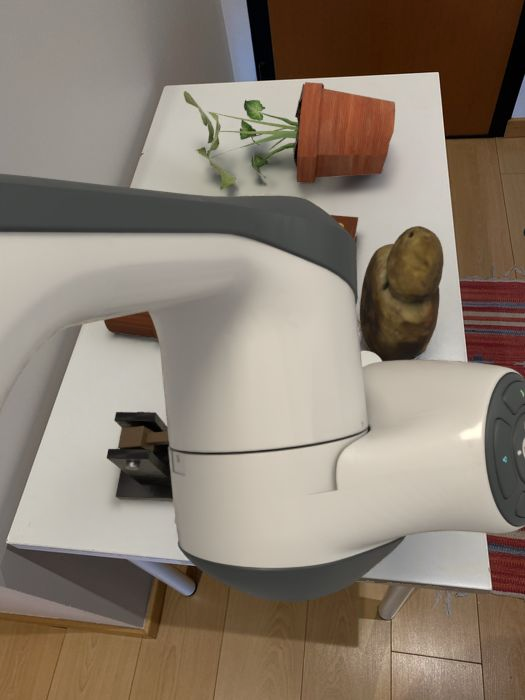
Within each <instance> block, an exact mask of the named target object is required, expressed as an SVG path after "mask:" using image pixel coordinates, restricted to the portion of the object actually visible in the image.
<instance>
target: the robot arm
mask: <svg viewBox="0 0 525 700" xmlns="http://www.w3.org/2000/svg"><path fill="white" fill-rule="evenodd" d="M330 215H331V214H329V213H328V212H327V211H326V210H324V209H323V208H321V207H320V206H319V205H317V204H316V203H314V202H312V201H311V200H309V199H307V198H305V197H304V198H303V197H300V196H292V195H278V194H249V195H246V194H245V195H233V196H231V195H230V196H229V195H228V196H226V195H225V196H219V195H217V196H215V195H214V196H213V195H201V194H189V193H181V192H173V191H163V190H153V189H145V188H138V187H137V188H135V187H126V186H118V185H109V184H100V183H93V182H91V183H90V182H82V181H76V180H75V181H74V180H65V179H56V178H49V177H48V178H47V177H39V176H31V175H21V174H20V175H18V174H8V173H0V413H1V412H2V410H3V408H4V405H5V404H6V401H7V399H8V398H9V396H10V394H11V392H12V391H13V388H14V387H15V384H17V383H16V382H17V381H18V379H19V377H20V375H21V374H22V372H23V371H24V369H25V368H26V367H27V365H28V364H29V362H30V361H31V359H32V358H33V356H34V355H35V354H36V353H38V351H39V349H40V348H42V346H43V345H44V344H45V343H46V342H47V341H48V340H50V339H51V338H52V337H53V336H55V335H56V334H57V333H59V332H61V331H63V330H65V329H67V328H70V327H77V326H81V325H86V324H90V323H96V322H101V321H104V320H107V319H112V318H117V317H122V316H127V315H132V314H137V313H142V312H147V311H148V312H149V314H150V316H151V318H152V320H153V323H154V326H155V329H156V332H157V336H158V339H157V341H158V346H159V353H160V361H161V362H160V364H161V374H162V385H163V394H164V395H163V396H164V404H165V416H166V426H167V428H168V439H169V447H168V452H169V463H170V473H171V483H172V493H173V501H172V502H173V511H174V524H175V527H176V534H177V547H178V549H179V550H180V551H181V553H182V554H183V555H184V557H185V558H187V559H188V561H189V562H190V563H191V564H192V565H194V566H195V567H196V568H197V569H199V570H200V571H201V572H203V574H206V575H207V576H208V577H210V578H212V579H214V580H215V581H218V582H219V583H221V584H223V585H225V586H227V587H228V588H231V589H234V590H236V591H238V592H240V593H243V594H246V595H249V596H251V597H255V598H258V599H261V600H266V601H274V602H281V603H299V602H306V601H312V600H316V599H319V598H323V597H326V596H329V595H332V594H334V593H337V592H339V591H341V590H344V589H346V588H347V587H350V586H351V585H353V584H354V583H356V582H357V581H359V580H360V579H361V578H363V577H364V576H365V575H366V574H368V573H369V572H370V571H371V570H372V569H373V568H375V567H376V566H377V565H378V564H379V563H380V562H382V561H383V560H384V559H385V558H387V557H388V556H389V555H390V554H391V553H392V552H393V551H394V550H395V549H397V548H398V547H399V546H400V545H401V544H402V542H404V540H405V539H406V537H407V536H413V535H419V534H426V533H435V532H462V533H463V532H466V533H481V534H508V533H513V532H516V531H518V530H520V529H522V528H524V527H525V378H524V376H523V375H522V374H521V373H519V372H518V371H516V370H515V369H513V368H510V367H507V366H502V365H497V364H489V363H481V362H474V361H462V360H461V361H459V360H450V359H449V360H447V359H412V360H395V361H381V362H376V363H372V364H369V365H366V366H364V367H362V361H361V352H360V351H361V341H362V337H363V334H362V330H361V324H360V320H358V315H357V314H358V313H357V304H358V299H359V297H358V293H359V292H358V264H357V262H358V261H357V259H358V258H357V241H356V242H355V240H354V238H353V237H352V236H351V235H350V234H349V233H348V232H347V231H346V230H345V229H344V228H343V227H342V226H341V225H340V224H339V223H338V222H337V221H336V220H335V219H334V218H333V217H332V216H330Z"/></svg>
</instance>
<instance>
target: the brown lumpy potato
mask: <svg viewBox="0 0 525 700" xmlns="http://www.w3.org/2000/svg"><path fill="white" fill-rule="evenodd" d="M444 259H445V258H444V251H443V246H442V242H441V240H440V238H439V237H438V236H437V234H436V233H435V232H434V231H432V230H431V229H429V228H427V227H424V226H421V225H415V226H411V227H409V228H407V229H405V230H404V231H403V232H402V233H401V234H400V235H398V237H397V239H395V241H394V243H389V244H384V245H382V246H380V247H378V248H377V249H376V250H375V251H374V253H373V255H372V256H371V257H370V259H369V261H368V264H367V267H366V270H365V273H364V277H363V281H362V284H361V285H362V286H361V294H360V299H359V300H360V301H359V322H360V324H361V329H360V331H361V333H362V337H363V340H364V343H365V345H366V347H367V349H368V351H370V352H373V353H375V354H376V355H378V356H379V357H380V358H381V360H382V361H395V360H415V358H417V357H419V356H421V355H422V354H423V353H424V352H425V351H426V350H427V348H428V346H429V344H430V342H431V340H432V337H433V335H434V334H435V330H436V326H437V323H438V317H439V308H440V284H441V282H442V281H441V280H442V277H443V270H444V266H445V265H444Z"/></svg>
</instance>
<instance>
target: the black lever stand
mask: <svg viewBox="0 0 525 700" xmlns="http://www.w3.org/2000/svg"><path fill="white" fill-rule="evenodd" d="M114 422H115V423H116V424H117V425H118V426H119V427H120V428H121V429H122V428H127V427H137V426H145V427H146V428H148V429H150V430H151V431H153V432H165V431H168V428H167V424H166V423H165V422H164V420H162V418H161V417H160V416H159V414H158V412H155V411H153V412H152V411H151V412H149V411H147V412H146V411H116V412H115V415H114ZM168 447H169V444H165V445H154V449H153V453H152V452H151V451H150V450H144V449H119V448H108V449H107V453H106V459H107V460H108V461H109V462H110V463H112V464H113V465H115V466H116V467H117V468H118V469H119V470H120V471H119V475H118V476H119V477H118V481H117V487H116V492H115V498H117V499H119V500H141V501H142V500H143V501H168V502H170V501H172V502H173V493H172V483H171V473H170V463H169V452H168Z"/></svg>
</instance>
